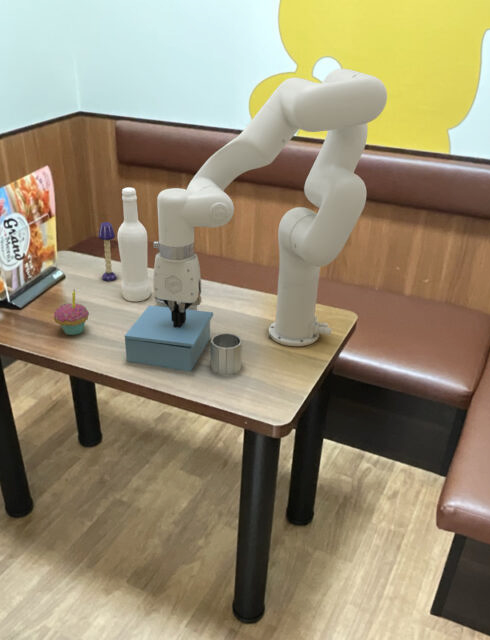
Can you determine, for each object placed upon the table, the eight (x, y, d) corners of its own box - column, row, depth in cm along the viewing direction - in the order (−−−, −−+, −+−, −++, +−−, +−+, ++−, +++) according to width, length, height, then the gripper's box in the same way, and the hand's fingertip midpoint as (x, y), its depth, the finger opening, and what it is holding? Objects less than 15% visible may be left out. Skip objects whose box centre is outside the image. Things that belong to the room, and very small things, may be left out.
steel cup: (243, 363, 141) (244, 335, 137) (236, 379, 136) (237, 350, 132) (215, 359, 143) (215, 331, 139) (207, 374, 138) (207, 345, 133)
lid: (213, 315, 145) (213, 312, 145) (193, 347, 133) (193, 344, 133) (149, 308, 150) (149, 305, 149) (124, 338, 137) (124, 335, 137)
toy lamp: (111, 273, 183) (106, 219, 174) (121, 277, 181) (117, 223, 171) (99, 278, 180) (93, 224, 171) (110, 283, 178) (104, 227, 168)
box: (210, 341, 150) (210, 316, 146) (190, 374, 137) (190, 348, 134) (150, 332, 153) (149, 308, 150) (126, 364, 141) (124, 338, 137)
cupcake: (97, 326, 156) (91, 284, 149) (77, 342, 149) (71, 298, 143) (69, 320, 159) (63, 277, 152) (49, 334, 152) (41, 291, 146)
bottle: (149, 302, 167) (143, 193, 150) (120, 302, 167) (110, 193, 150) (152, 290, 174) (146, 184, 157) (124, 289, 174) (115, 184, 157)
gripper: (137, 251, 129) (142, 327, 139) (205, 259, 125) (205, 337, 136) (150, 239, 135) (154, 313, 145) (215, 246, 131) (214, 321, 142)
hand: (178, 324), depth 140 cm, fingers closed
